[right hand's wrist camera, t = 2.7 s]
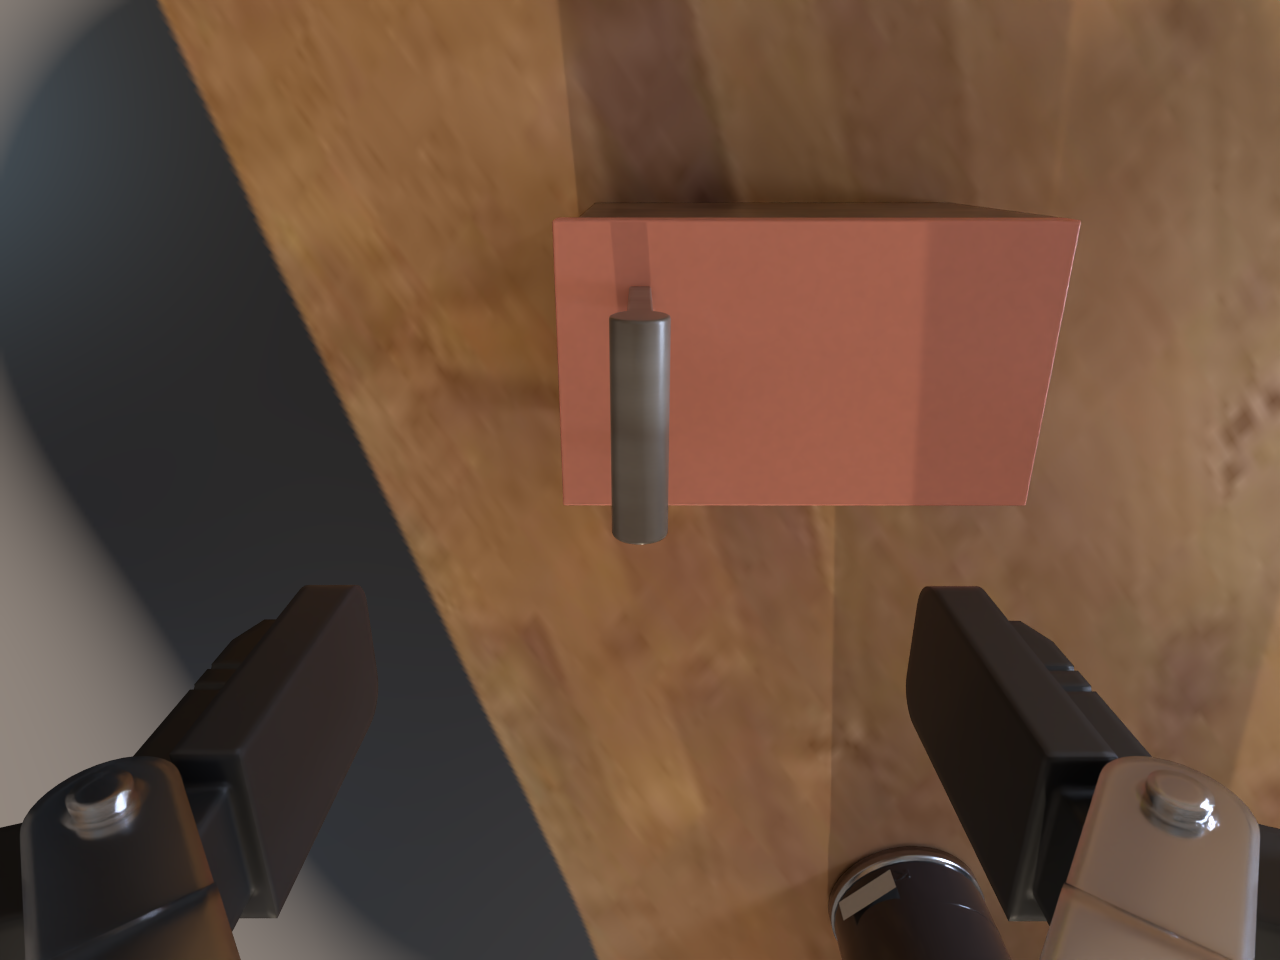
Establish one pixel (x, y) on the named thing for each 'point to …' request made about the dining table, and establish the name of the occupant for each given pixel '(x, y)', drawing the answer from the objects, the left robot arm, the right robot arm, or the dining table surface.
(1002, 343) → the lid
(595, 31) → the dining table surface
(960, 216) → the chest
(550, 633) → the dining table surface
